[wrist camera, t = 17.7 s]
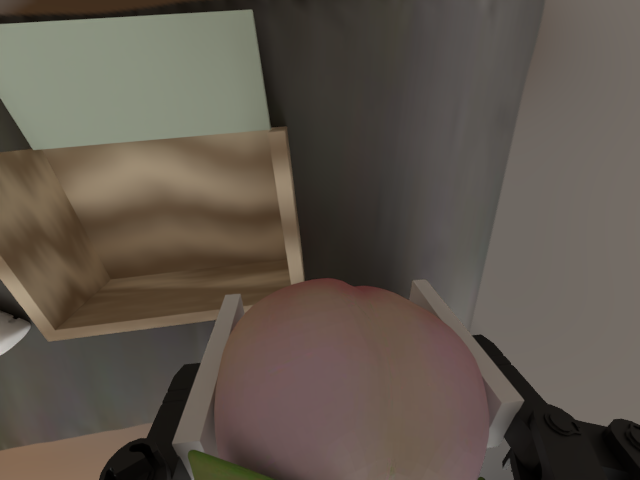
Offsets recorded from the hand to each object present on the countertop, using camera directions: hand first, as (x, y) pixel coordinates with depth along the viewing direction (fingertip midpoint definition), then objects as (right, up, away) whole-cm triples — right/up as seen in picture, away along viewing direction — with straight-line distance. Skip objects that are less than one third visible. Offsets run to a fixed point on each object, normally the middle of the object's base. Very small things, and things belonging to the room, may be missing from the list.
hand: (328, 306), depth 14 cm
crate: (-15, +7, +15) cm, 22 cm away
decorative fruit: (0, 0, 0) cm, 0 cm away
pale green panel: (-16, +13, +10) cm, 23 cm away
